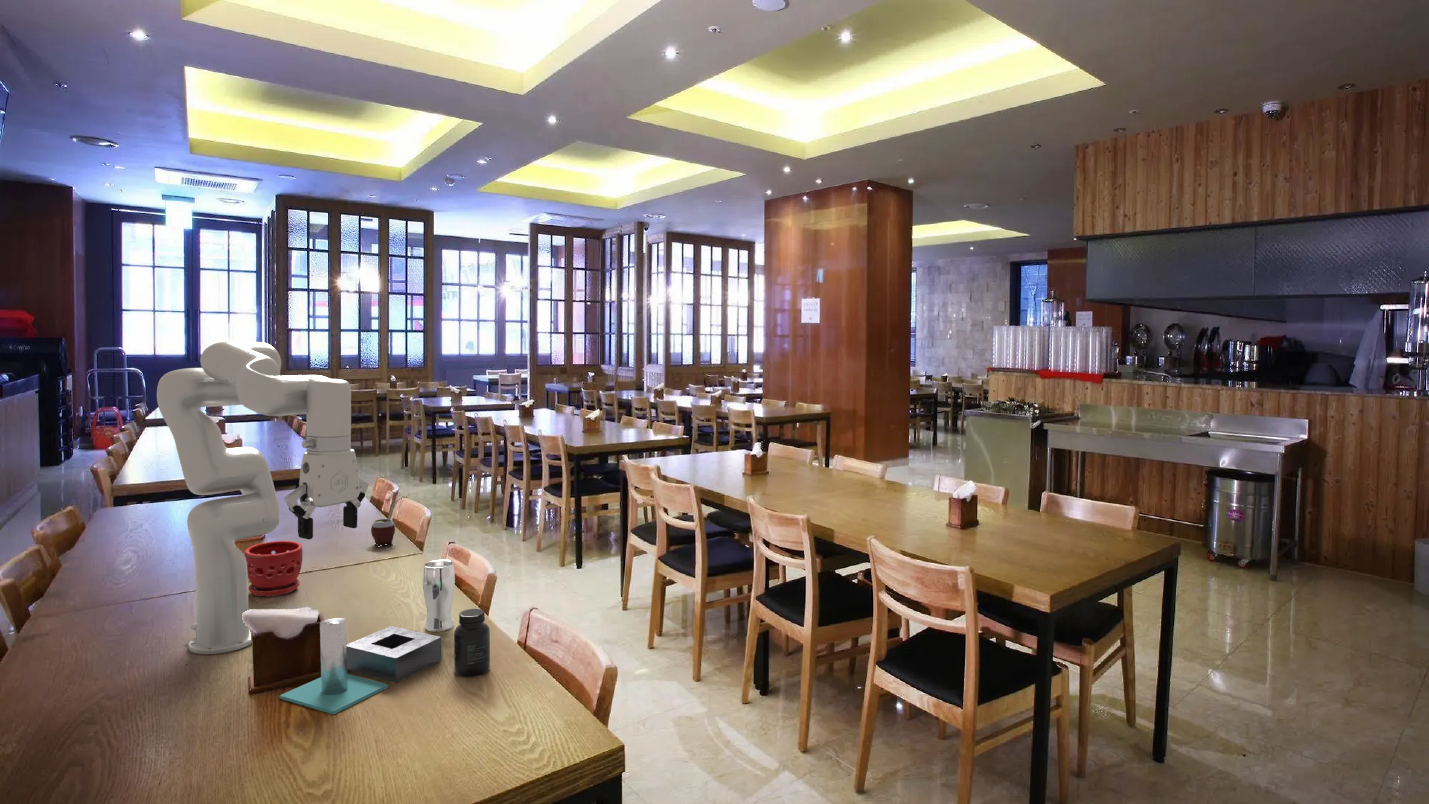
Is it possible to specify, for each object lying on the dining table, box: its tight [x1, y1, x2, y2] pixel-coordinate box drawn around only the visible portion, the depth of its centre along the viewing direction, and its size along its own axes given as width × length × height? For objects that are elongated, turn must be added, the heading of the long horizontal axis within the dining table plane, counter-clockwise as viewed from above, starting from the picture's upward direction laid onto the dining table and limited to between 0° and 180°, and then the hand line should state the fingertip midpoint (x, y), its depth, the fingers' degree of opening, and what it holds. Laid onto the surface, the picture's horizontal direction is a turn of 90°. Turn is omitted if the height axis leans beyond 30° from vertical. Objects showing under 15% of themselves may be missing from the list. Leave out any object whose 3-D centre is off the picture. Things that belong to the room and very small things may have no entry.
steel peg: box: [319, 617, 348, 695], centre depth 144 cm, size 4×4×13 cm
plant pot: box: [244, 540, 304, 598], centre depth 200 cm, size 13×13×12 cm
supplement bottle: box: [453, 608, 491, 678], centre depth 154 cm, size 7×7×12 cm
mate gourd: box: [370, 497, 402, 546], centre depth 248 cm, size 8×8×15 cm
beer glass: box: [422, 559, 456, 633], centre depth 177 cm, size 7×7×15 cm
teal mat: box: [279, 673, 389, 715], centre depth 144 cm, size 14×12×1 cm
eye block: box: [347, 625, 443, 684], centre depth 157 cm, size 14×12×5 cm
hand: (328, 532), depth 147 cm, fingers open, 9 cm apart
